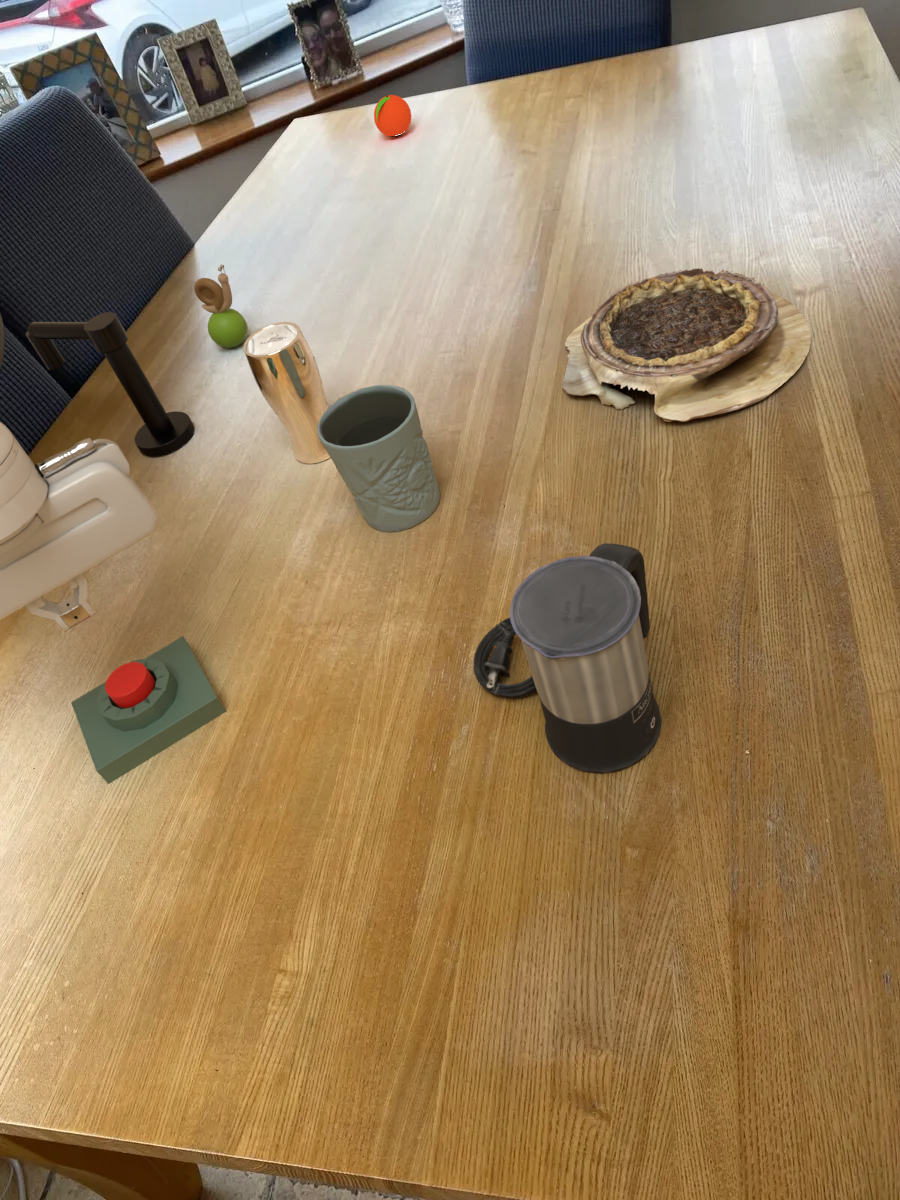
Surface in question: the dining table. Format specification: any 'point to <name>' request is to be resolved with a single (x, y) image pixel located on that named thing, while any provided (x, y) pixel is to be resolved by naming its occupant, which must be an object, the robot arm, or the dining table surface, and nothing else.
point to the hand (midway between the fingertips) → (79, 618)
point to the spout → (76, 336)
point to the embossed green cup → (382, 456)
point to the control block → (148, 712)
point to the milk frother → (582, 657)
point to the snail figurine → (221, 311)
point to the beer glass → (290, 385)
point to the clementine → (392, 115)
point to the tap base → (150, 408)
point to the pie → (688, 344)
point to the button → (129, 684)
